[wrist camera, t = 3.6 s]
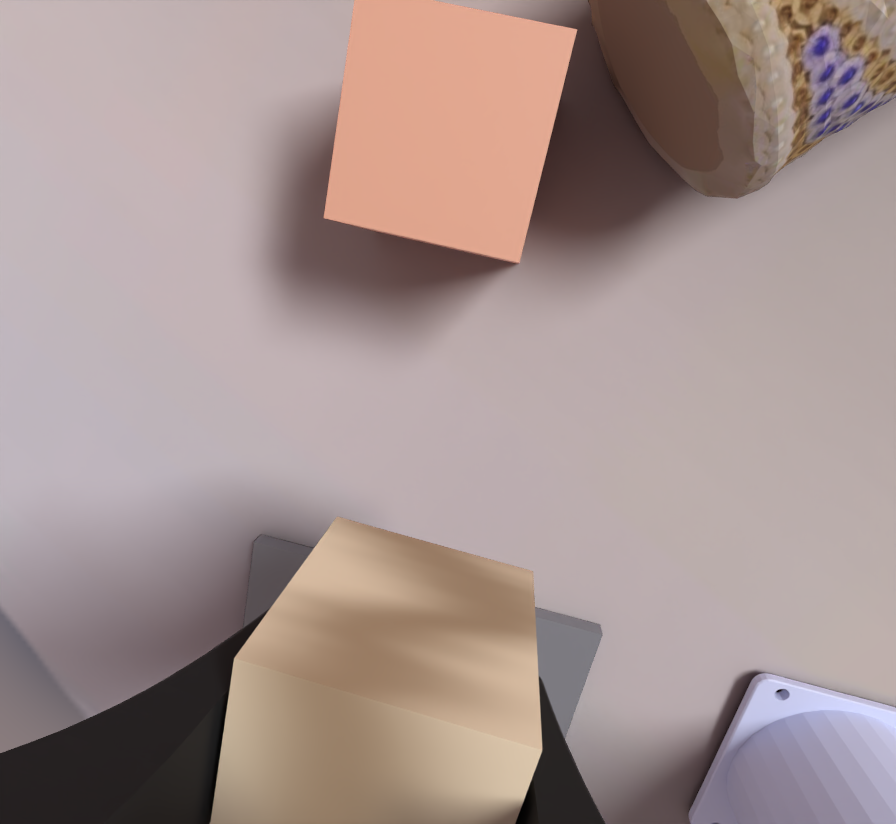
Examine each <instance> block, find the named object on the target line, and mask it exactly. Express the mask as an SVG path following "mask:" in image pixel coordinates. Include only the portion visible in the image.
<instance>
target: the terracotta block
mask: <svg viewBox="0 0 896 824" xmlns="http://www.w3.org/2000/svg"><path fill="white" fill-rule="evenodd" d="M576 33H577V29H573V28H568V27H563V26H558V25H553V24H548V23H543V22H538V21H533V20H528V19H523V18H518V17H513V16H508V15H503V14H498V13H493V12H488V11H483V10H478V9H473V8H468V7H463V6H458V5H453V4H448V3H443V2H438V1H433V0H355V1H354V8H353V15H352V22H351V29H350V36H349V43H348V50H347V57H346V64H345V71H344V78H343V85H342V92H341V99H340V106H339V113H338V120H337V127H336V134H335V141H334V149H333V156H332V163H331V170H330V177H329V184H328V191H327V198H326V205H325V212H324V218H325V219H329V220H333V221H337V222H341V223H345V224H348V225H352V226H356V227H360V228H364V229H368V230H372V231H376V232H380V233H385V234H389V235H393V236H398V237H402V238H406V239H411V240H415V241H420V242H424V243H428V244H433V245H437V246H442V247H446V248H450V249H455V250H459V251H463V252H468V253H472V254H477V255H481V256H485V257H490V258H494V259H499V260H503V261H507V262H512V263H516V264H519V262H520V258H521V254H522V250H523V246H524V242H525V238H526V234H527V230H528V226H529V222H530V218H531V214H532V210H533V206H534V202H535V198H536V194H537V190H538V186H539V182H540V178H541V174H542V170H543V166H544V162H545V158H546V154H547V150H548V146H549V142H550V137H551V133H552V129H553V125H554V121H555V117H556V113H557V109H558V105H559V101H560V97H561V93H562V89H563V85H564V81H565V77H566V73H567V69H568V65H569V61H570V57H571V53H572V49H573V45H574V41H575V37H576Z"/></svg>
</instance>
